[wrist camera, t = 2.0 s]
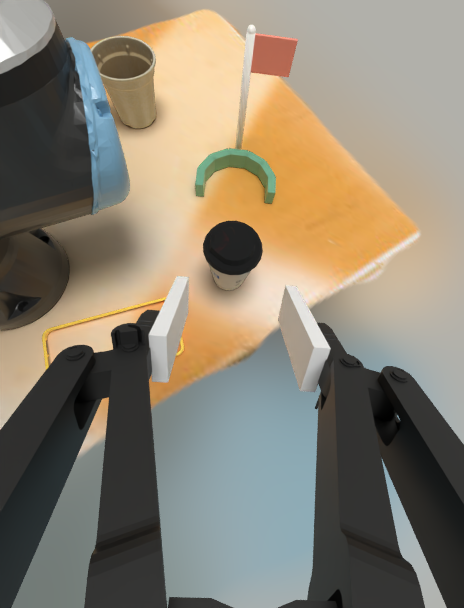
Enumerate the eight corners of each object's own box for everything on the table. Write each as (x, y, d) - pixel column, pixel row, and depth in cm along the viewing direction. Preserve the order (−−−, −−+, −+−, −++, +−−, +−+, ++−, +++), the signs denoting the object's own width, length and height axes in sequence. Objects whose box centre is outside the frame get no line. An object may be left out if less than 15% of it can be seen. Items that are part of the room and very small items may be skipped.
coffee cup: (253, 257, 39) (266, 218, 29) (250, 300, 37) (263, 273, 27) (208, 251, 38) (206, 210, 29) (202, 295, 36) (198, 265, 27)
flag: (234, 157, 44) (247, 27, 27) (234, 153, 44) (247, 21, 28) (267, 161, 44) (299, 34, 28) (267, 157, 44) (299, 28, 28)
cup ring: (196, 195, 41) (195, 184, 39) (201, 157, 43) (200, 145, 41) (271, 203, 42) (275, 192, 39) (272, 165, 44) (276, 153, 41)
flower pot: (143, 88, 47) (128, 26, 38) (176, 119, 45) (168, 61, 37) (100, 112, 44) (74, 52, 36) (133, 145, 43) (115, 90, 35)
